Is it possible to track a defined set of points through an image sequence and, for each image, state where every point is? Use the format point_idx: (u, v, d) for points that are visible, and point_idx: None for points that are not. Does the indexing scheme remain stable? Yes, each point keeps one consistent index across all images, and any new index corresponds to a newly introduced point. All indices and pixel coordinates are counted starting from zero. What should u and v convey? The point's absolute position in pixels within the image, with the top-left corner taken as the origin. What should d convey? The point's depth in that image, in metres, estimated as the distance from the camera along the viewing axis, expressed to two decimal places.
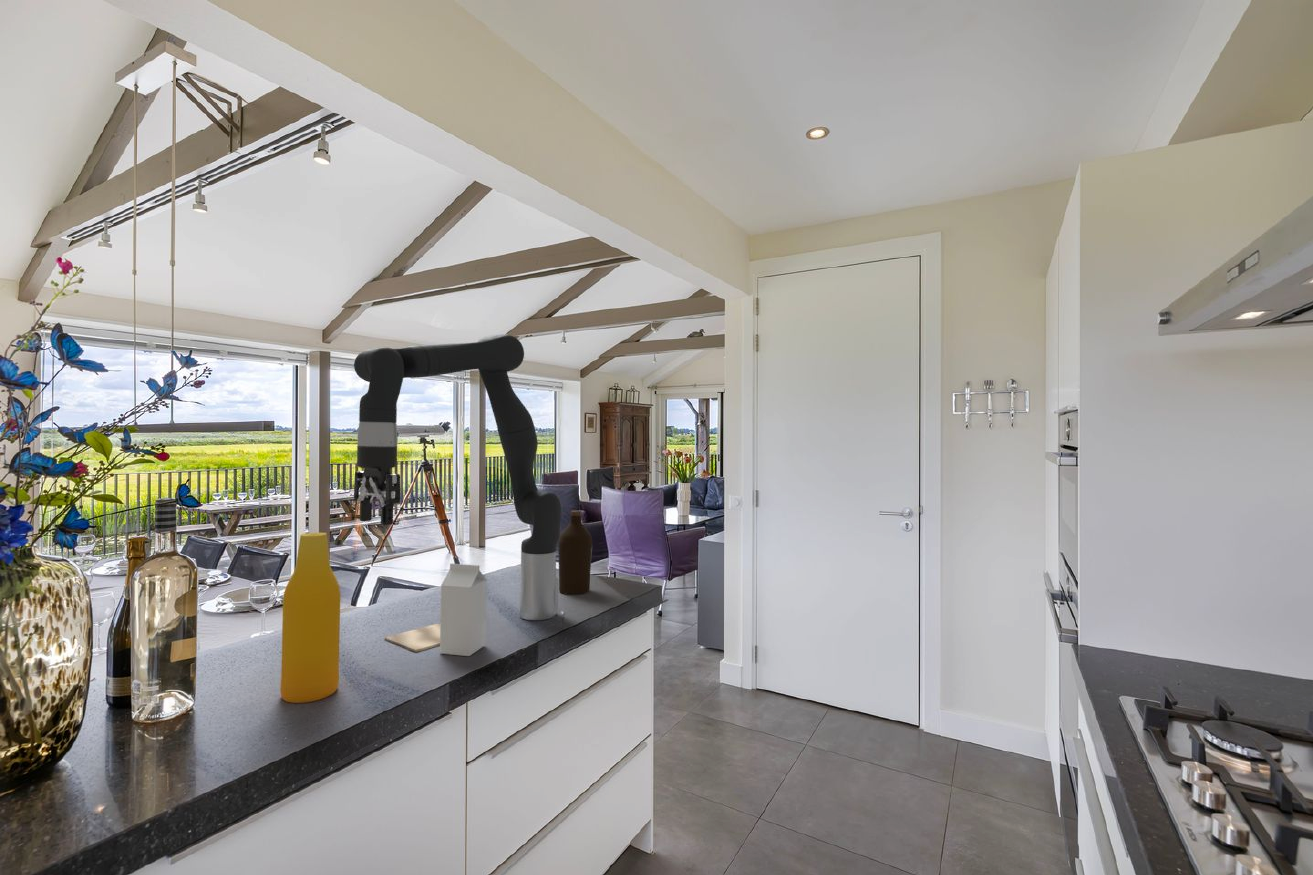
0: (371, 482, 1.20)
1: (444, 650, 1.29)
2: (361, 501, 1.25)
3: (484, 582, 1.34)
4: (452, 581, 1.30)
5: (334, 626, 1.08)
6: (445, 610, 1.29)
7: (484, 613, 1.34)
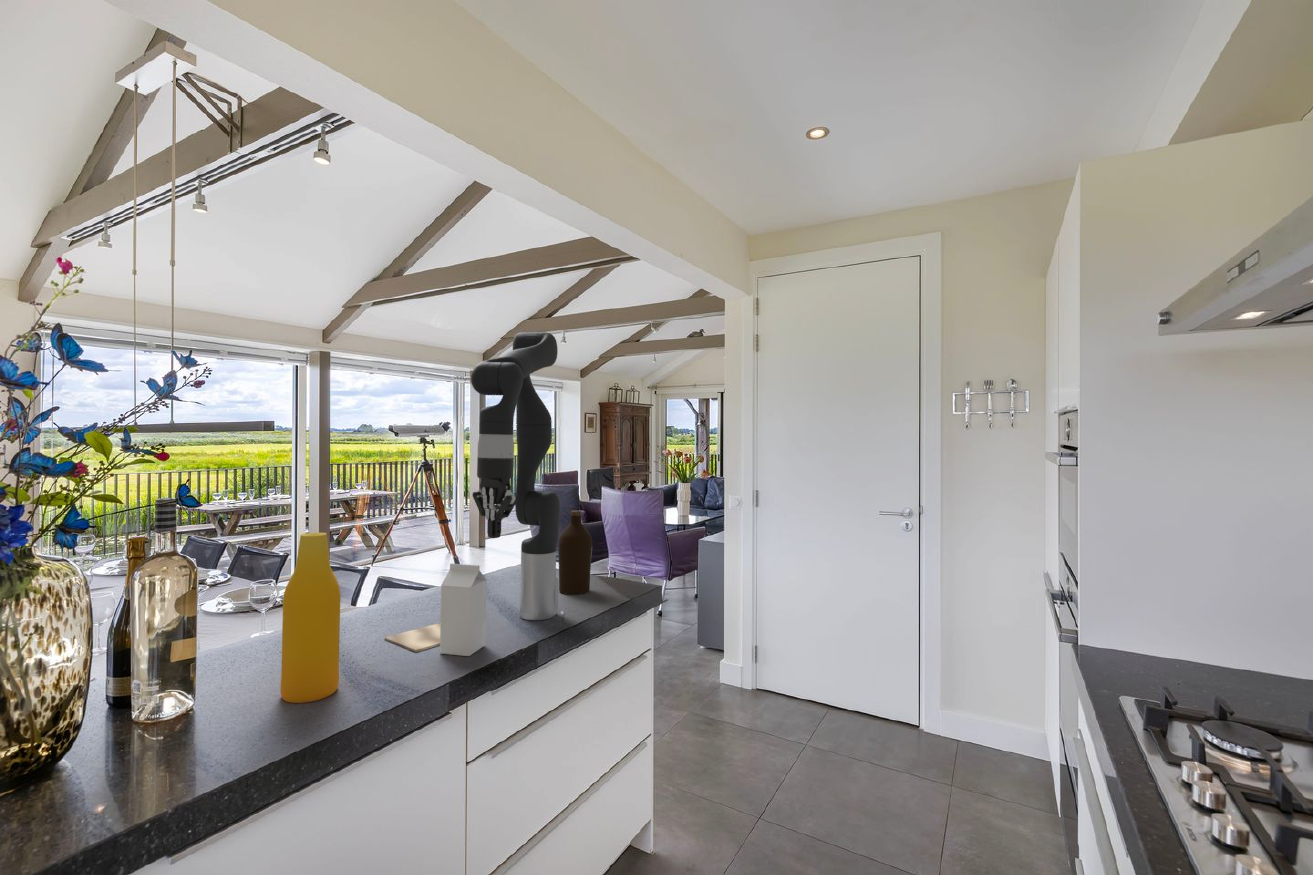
0: (491, 493, 1.24)
1: (444, 650, 1.29)
2: (489, 516, 1.26)
3: (484, 582, 1.34)
4: (452, 581, 1.30)
5: (334, 626, 1.08)
6: (445, 610, 1.29)
7: (484, 613, 1.34)
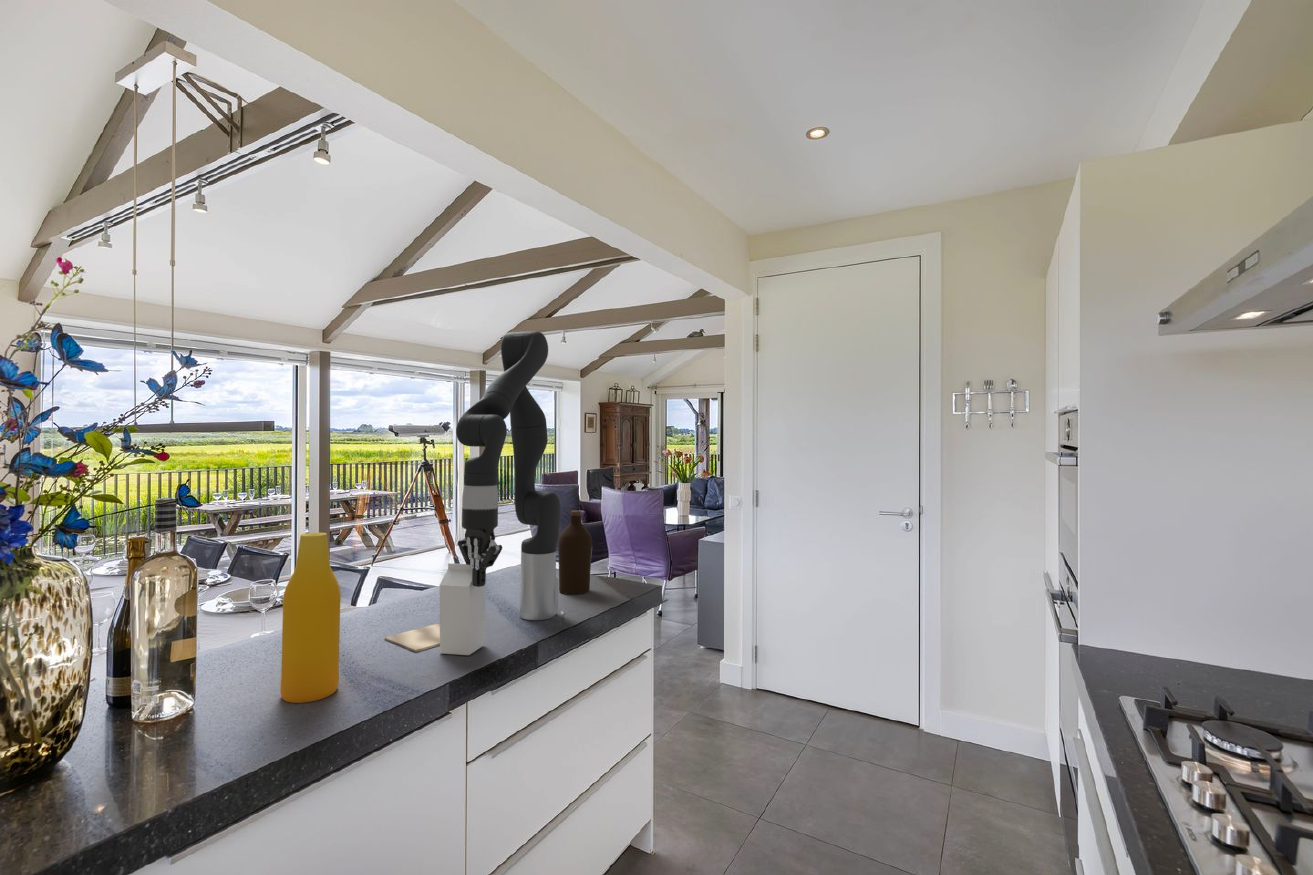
0: (475, 543, 1.27)
1: (444, 650, 1.29)
2: (474, 565, 1.28)
3: None
4: (450, 581, 1.30)
5: (334, 626, 1.08)
6: (444, 610, 1.29)
7: (483, 612, 1.34)
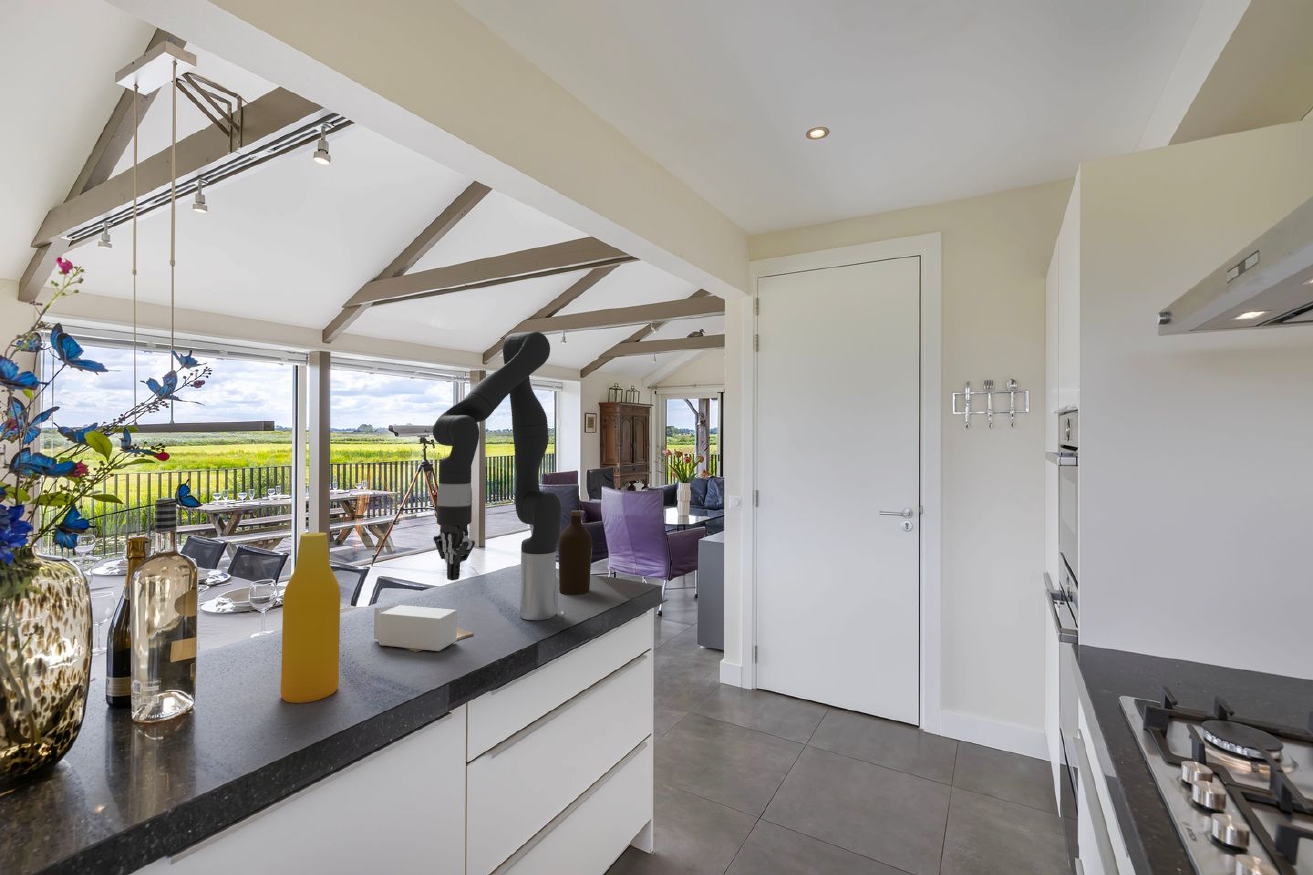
0: (449, 539, 1.32)
1: (436, 645, 1.30)
2: (448, 559, 1.34)
3: (398, 606, 1.38)
4: (379, 633, 1.34)
5: (334, 626, 1.08)
6: (401, 641, 1.31)
7: (426, 608, 1.37)
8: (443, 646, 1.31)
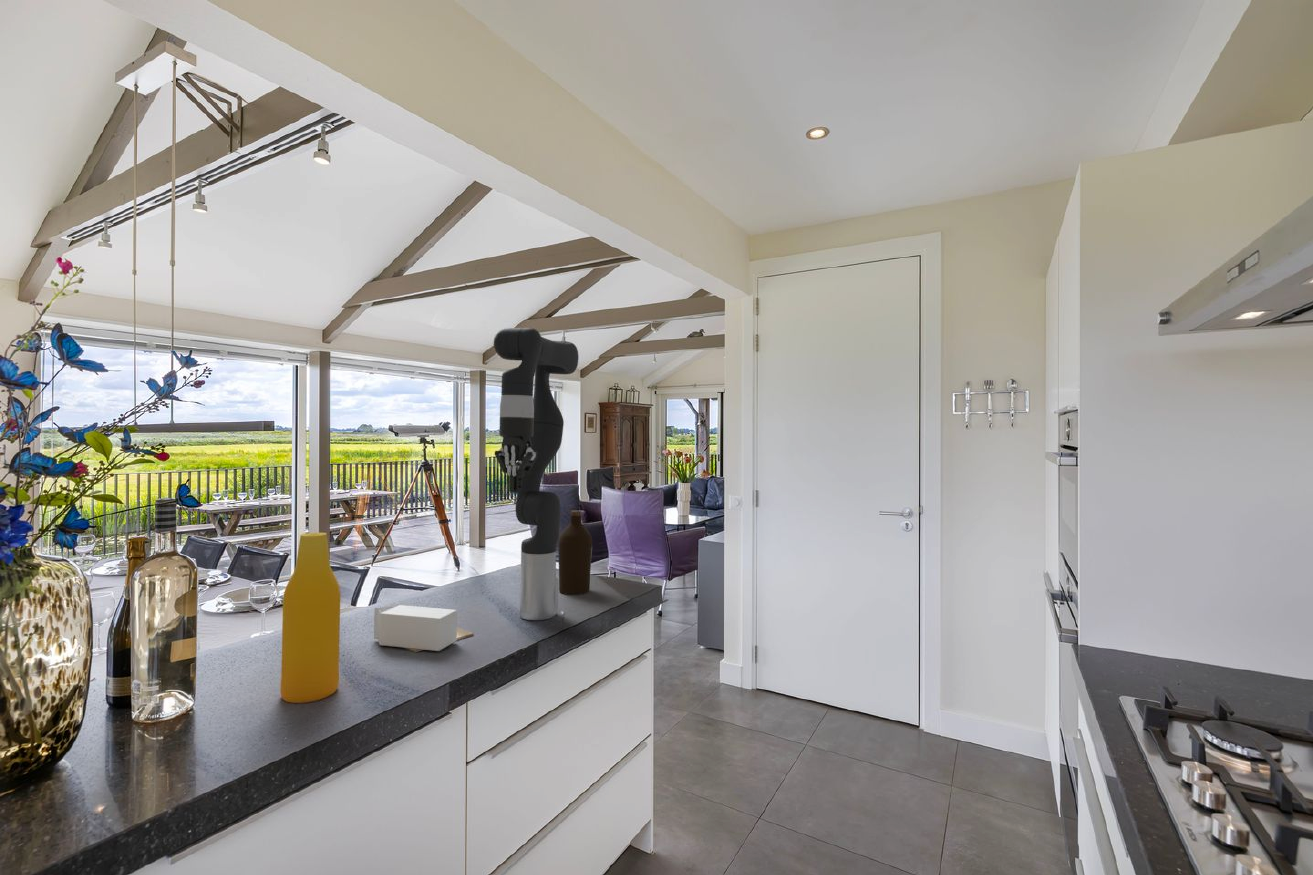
0: (512, 450, 1.32)
1: (436, 645, 1.30)
2: (511, 472, 1.34)
3: (398, 606, 1.38)
4: (379, 633, 1.34)
5: (334, 626, 1.08)
6: (401, 641, 1.31)
7: (426, 608, 1.37)
8: (443, 646, 1.31)
